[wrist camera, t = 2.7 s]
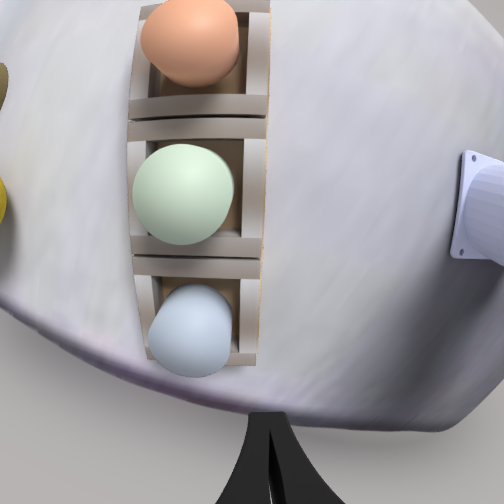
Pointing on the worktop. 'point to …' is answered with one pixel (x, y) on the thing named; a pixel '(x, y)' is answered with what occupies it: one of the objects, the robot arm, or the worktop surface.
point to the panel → (234, 154)
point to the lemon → (2, 200)
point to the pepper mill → (3, 83)
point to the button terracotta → (192, 41)
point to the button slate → (192, 331)
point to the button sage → (183, 193)
